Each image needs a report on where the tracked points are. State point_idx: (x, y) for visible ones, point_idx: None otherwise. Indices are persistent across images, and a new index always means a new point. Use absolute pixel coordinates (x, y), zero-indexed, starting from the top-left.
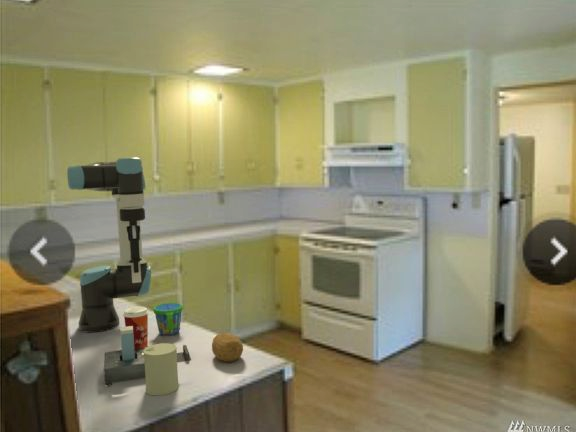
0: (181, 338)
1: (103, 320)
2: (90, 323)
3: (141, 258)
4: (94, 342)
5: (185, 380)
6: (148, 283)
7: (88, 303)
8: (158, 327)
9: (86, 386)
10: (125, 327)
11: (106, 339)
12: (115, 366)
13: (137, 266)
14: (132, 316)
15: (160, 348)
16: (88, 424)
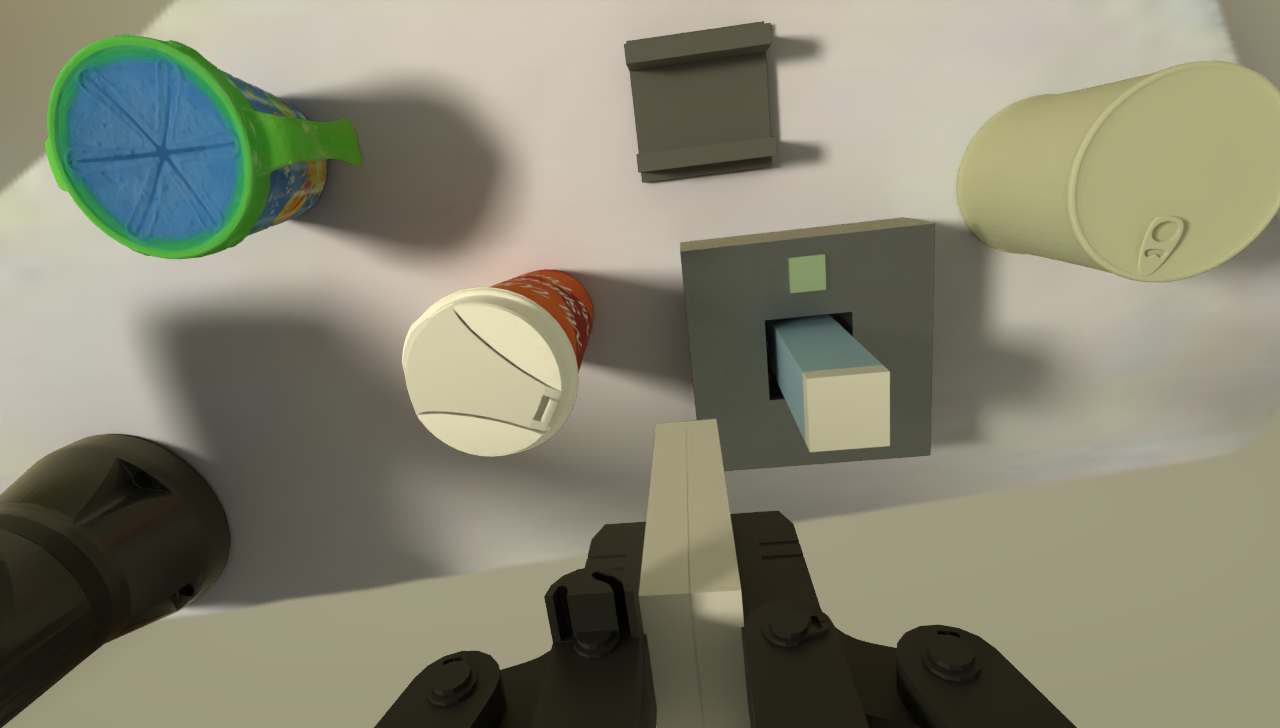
0: (381, 84)
1: (167, 521)
2: (193, 572)
3: (589, 595)
4: (368, 517)
5: (996, 60)
6: None
7: (81, 650)
8: (283, 221)
9: (875, 491)
10: (823, 421)
11: (335, 471)
12: (916, 407)
13: (812, 586)
14: (571, 392)
15: (1167, 175)
16: (1232, 444)
